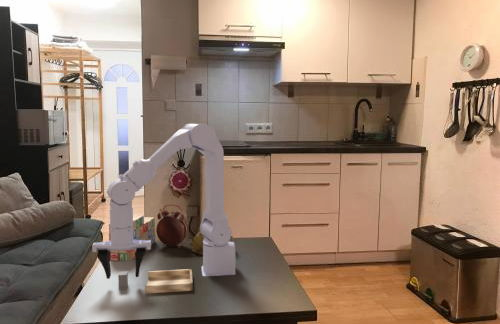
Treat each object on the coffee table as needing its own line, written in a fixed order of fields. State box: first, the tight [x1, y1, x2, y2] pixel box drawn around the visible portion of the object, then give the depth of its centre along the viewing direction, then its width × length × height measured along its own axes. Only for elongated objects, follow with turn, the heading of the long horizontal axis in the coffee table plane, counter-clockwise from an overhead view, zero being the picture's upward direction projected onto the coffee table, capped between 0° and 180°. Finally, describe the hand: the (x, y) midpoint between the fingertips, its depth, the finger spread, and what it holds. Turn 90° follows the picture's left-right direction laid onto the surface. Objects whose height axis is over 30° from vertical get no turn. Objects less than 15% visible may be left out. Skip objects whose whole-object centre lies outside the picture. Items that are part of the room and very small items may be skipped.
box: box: [144, 268, 194, 294], centre depth 108 cm, size 12×10×2 cm
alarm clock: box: [155, 204, 190, 248], centre depth 141 cm, size 11×5×15 cm, turn 77°
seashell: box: [189, 227, 234, 256], centre depth 137 cm, size 11×14×10 cm
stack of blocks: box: [108, 214, 156, 262], centre depth 136 cm, size 21×6×12 cm, turn 170°
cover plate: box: [117, 270, 129, 290], centre depth 106 cm, size 8×7×5 cm
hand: (123, 276), depth 106 cm, fingers open, 7 cm apart
